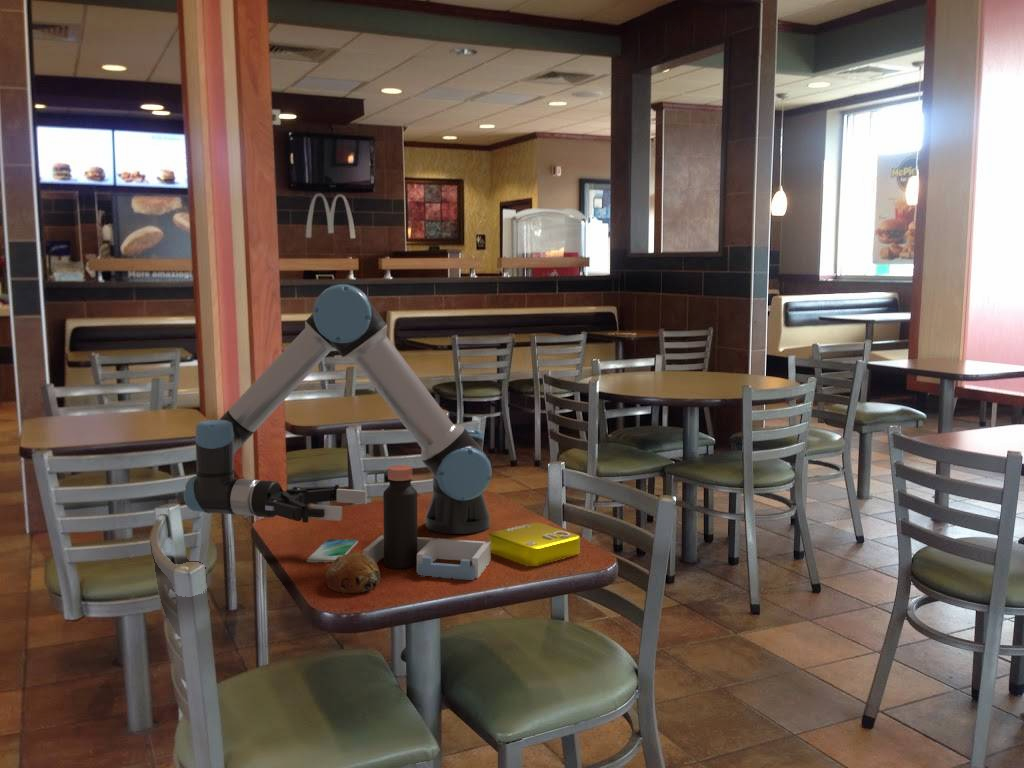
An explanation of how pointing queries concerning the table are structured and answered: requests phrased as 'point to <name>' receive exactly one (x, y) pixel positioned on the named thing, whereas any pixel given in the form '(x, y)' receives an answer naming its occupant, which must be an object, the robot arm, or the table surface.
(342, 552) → the smartphone
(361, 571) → the bread roll
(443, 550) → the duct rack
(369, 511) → the table surface
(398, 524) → the vinegar
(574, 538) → the element tile
